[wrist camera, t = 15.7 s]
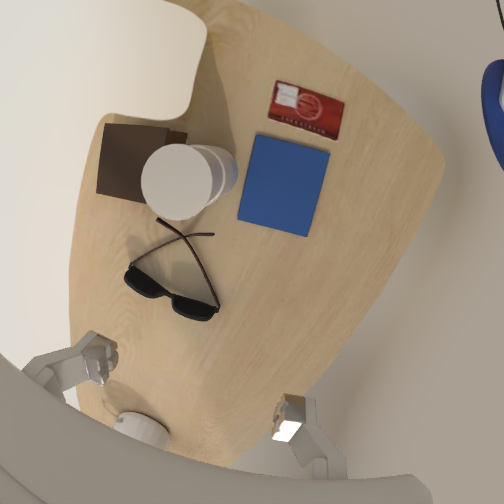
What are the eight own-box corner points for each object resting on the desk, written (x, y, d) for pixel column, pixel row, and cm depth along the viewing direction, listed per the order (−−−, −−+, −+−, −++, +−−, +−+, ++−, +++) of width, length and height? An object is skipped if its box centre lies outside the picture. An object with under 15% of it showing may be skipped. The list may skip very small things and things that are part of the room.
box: (133, 125, 35) (104, 123, 28) (189, 132, 34) (168, 128, 27) (124, 185, 38) (96, 193, 31) (177, 195, 38) (155, 206, 31)
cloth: (256, 134, 34) (256, 134, 33) (329, 153, 34) (330, 153, 33) (237, 218, 38) (237, 219, 38) (306, 236, 38) (307, 237, 38)
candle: (183, 164, 36) (127, 174, 22) (223, 136, 34) (185, 126, 20) (209, 204, 38) (166, 235, 24) (250, 178, 36) (229, 193, 22)
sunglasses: (251, 240, 39) (247, 252, 34) (216, 315, 44) (209, 332, 40) (150, 194, 38) (133, 200, 34) (129, 272, 43) (114, 284, 39)
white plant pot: (154, 410, 58) (141, 439, 49) (182, 442, 63) (173, 468, 54) (100, 404, 62) (86, 426, 53) (129, 435, 67) (118, 457, 58)
